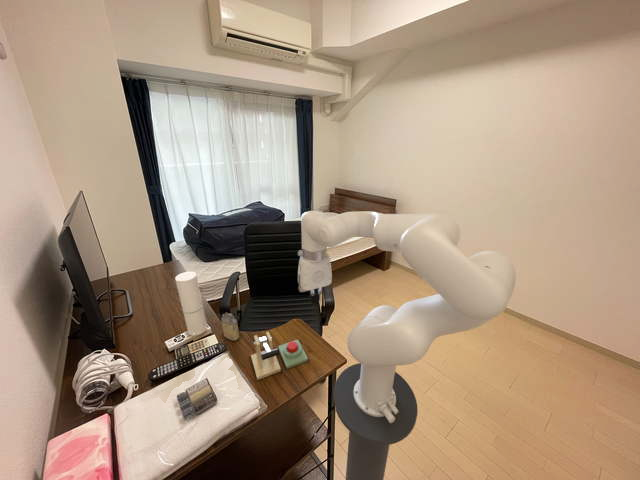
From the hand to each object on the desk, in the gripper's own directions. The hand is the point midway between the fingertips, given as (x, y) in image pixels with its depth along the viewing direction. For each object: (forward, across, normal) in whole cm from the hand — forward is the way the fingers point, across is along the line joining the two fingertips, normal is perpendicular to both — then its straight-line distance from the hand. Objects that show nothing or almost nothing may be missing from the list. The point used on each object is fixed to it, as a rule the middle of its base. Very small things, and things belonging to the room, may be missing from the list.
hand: (314, 302), depth 82 cm
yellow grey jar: (+23, -26, +23) cm, 42 cm away
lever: (+13, -17, -1) cm, 21 cm away
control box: (+23, -7, +4) cm, 24 cm away
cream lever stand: (+23, -17, +4) cm, 29 cm away
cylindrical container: (+23, -38, +33) cm, 55 cm away
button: (+20, -7, +4) cm, 22 cm away
